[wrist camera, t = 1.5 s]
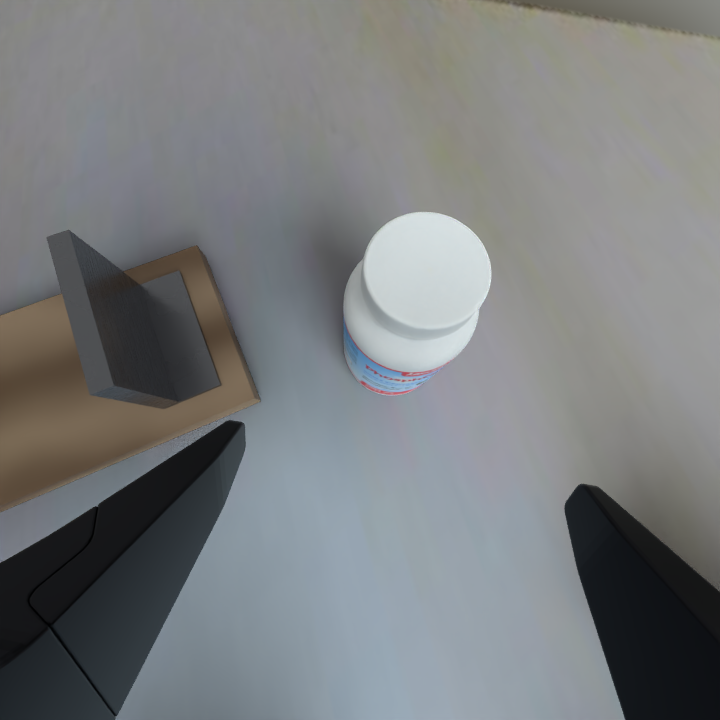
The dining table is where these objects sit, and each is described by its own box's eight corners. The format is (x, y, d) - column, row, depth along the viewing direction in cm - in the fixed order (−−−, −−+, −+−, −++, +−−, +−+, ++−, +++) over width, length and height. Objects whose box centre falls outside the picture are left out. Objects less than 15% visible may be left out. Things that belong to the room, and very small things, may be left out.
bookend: (221, 385, 21) (172, 362, 15) (164, 409, 20) (89, 395, 14) (181, 272, 22) (122, 211, 16) (126, 292, 22) (46, 237, 16)
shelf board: (260, 401, 22) (254, 398, 21) (-78, 545, 20) (-112, 553, 18) (205, 257, 24) (196, 245, 23) (-104, 369, 22) (-136, 364, 20)
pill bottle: (362, 409, 22) (375, 375, 11) (332, 323, 23) (318, 218, 13) (449, 379, 23) (542, 319, 12) (415, 297, 24) (471, 175, 13)
